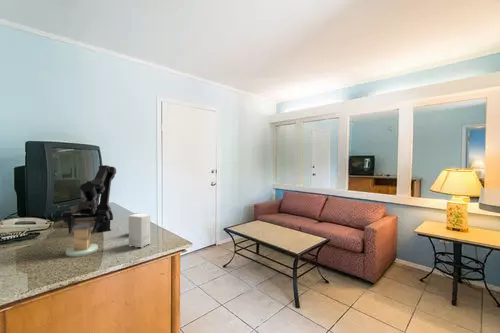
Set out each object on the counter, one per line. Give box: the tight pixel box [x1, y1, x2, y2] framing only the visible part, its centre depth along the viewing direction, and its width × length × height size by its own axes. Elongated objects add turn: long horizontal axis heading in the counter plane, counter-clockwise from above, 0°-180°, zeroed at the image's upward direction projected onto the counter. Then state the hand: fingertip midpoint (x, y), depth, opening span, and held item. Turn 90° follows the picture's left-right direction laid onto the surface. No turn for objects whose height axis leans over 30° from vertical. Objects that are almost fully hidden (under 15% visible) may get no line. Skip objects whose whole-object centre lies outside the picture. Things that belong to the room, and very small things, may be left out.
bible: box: [62, 194, 101, 228], centre depth 154 cm, size 23×20×25 cm
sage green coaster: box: [65, 243, 99, 258], centre depth 107 cm, size 12×12×2 cm
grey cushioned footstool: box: [72, 223, 93, 251], centre depth 106 cm, size 5×5×11 cm
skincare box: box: [128, 212, 151, 248], centre depth 116 cm, size 8×7×16 cm
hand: (81, 232), depth 105 cm, fingers open, 9 cm apart
